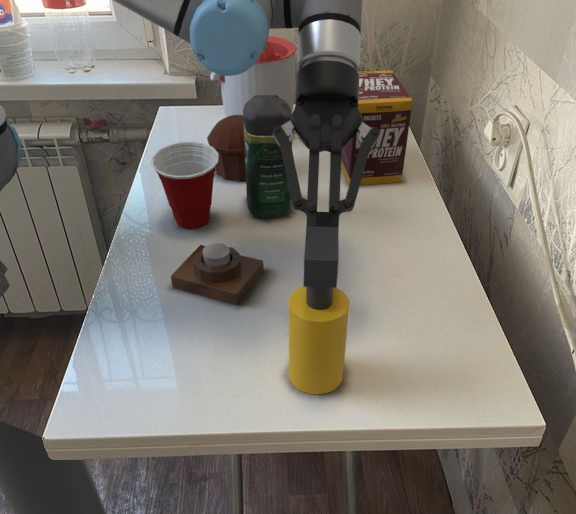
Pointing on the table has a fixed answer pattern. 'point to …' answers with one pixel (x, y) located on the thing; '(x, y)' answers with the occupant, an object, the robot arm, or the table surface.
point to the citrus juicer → (262, 77)
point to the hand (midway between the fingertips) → (320, 268)
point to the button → (216, 255)
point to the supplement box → (381, 128)
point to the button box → (218, 277)
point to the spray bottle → (318, 317)
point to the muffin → (229, 147)
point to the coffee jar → (265, 157)
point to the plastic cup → (187, 180)
